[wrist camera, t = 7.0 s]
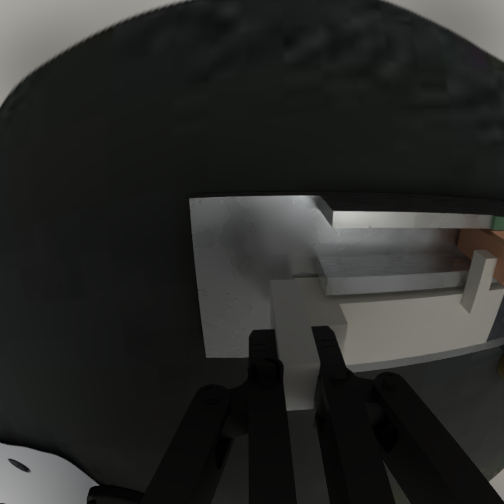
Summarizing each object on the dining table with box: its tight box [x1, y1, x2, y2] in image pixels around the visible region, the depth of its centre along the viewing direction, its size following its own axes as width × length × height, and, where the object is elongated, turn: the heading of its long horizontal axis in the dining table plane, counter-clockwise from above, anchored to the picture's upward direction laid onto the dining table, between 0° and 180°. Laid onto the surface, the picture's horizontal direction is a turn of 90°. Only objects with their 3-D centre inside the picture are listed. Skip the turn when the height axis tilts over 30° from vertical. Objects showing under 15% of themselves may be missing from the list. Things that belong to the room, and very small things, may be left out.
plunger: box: [294, 250, 504, 365], centre depth 17 cm, size 14×7×5 cm, turn 91°
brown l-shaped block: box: [457, 228, 504, 285], centre depth 15 cm, size 2×4×5 cm, turn 1°
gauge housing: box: [189, 192, 504, 372], centre depth 17 cm, size 26×11×7 cm, turn 91°
